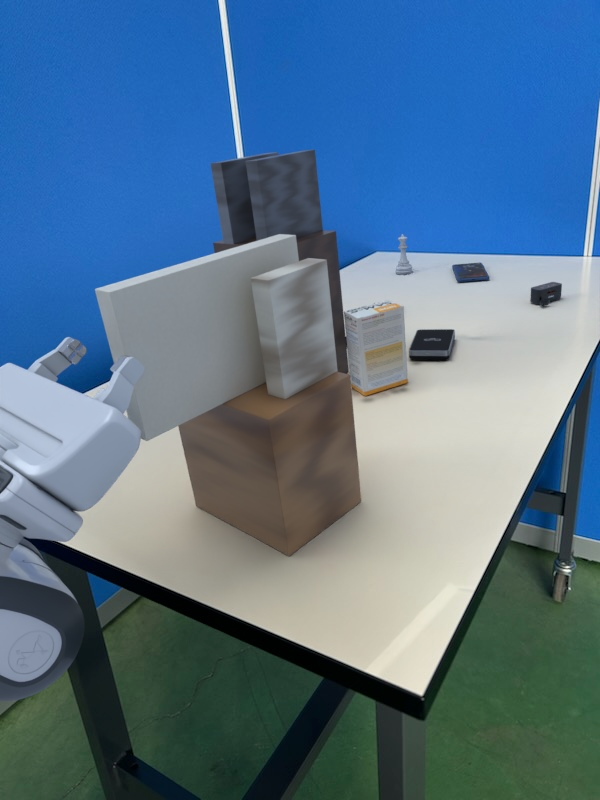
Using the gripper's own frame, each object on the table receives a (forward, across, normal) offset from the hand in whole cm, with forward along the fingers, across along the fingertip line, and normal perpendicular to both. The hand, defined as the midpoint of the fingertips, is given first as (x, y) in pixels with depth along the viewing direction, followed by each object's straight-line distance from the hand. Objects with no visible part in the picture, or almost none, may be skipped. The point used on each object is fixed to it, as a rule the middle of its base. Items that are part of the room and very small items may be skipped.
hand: (105, 351), depth 53 cm
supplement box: (+30, -10, -46) cm, 56 cm away
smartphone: (+86, -30, -79) cm, 121 cm away
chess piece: (+83, -48, -77) cm, 123 cm away
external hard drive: (+44, -10, -55) cm, 71 cm away
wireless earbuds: (+73, -4, -71) cm, 102 cm away
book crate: (+1, 0, -30) cm, 30 cm away
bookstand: (+26, -26, -44) cm, 58 cm away
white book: (+6, 0, -14) cm, 15 cm away
